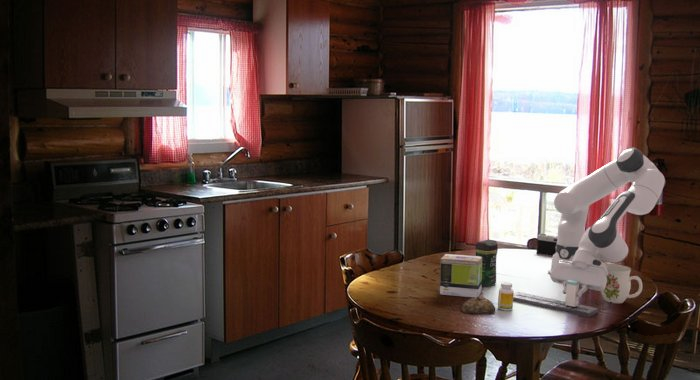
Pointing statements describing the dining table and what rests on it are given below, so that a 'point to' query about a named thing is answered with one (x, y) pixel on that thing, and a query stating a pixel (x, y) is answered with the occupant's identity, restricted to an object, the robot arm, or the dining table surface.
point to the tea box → (461, 275)
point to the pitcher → (619, 284)
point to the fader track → (554, 304)
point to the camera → (546, 244)
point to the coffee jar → (487, 260)
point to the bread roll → (478, 306)
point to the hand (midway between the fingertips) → (571, 294)
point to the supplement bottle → (505, 297)
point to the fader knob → (572, 293)
